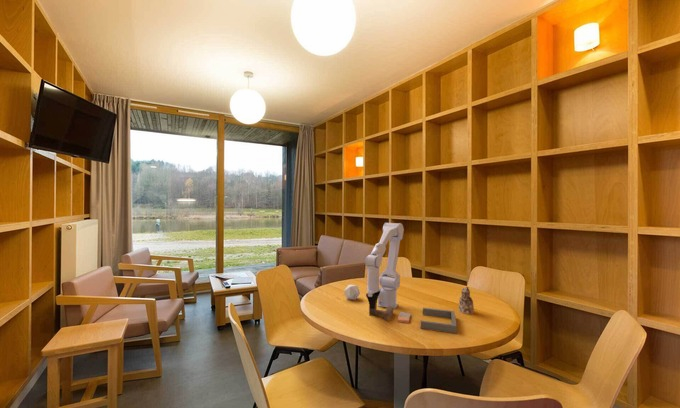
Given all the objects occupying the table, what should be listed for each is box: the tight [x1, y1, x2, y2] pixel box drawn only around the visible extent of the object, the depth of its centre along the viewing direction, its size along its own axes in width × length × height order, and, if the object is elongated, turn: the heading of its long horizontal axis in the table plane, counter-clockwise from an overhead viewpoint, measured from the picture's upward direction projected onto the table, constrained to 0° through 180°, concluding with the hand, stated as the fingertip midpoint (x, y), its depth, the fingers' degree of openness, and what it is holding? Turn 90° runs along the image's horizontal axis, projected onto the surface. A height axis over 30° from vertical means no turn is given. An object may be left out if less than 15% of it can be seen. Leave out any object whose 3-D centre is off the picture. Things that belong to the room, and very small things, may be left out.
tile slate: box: [398, 311, 412, 320], centre depth 142 cm, size 5×5×2 cm
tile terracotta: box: [397, 315, 410, 324], centre depth 137 cm, size 5×5×2 cm
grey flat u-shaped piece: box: [420, 307, 458, 334], centre depth 134 cm, size 14×19×3 cm
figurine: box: [457, 286, 475, 315], centre depth 149 cm, size 7×7×12 cm
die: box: [343, 284, 361, 301], centre depth 168 cm, size 8×9×10 cm
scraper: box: [368, 299, 394, 322], centre depth 143 cm, size 10×11×9 cm
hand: (373, 307), depth 144 cm, fingers closed on scraper, 3 cm apart
